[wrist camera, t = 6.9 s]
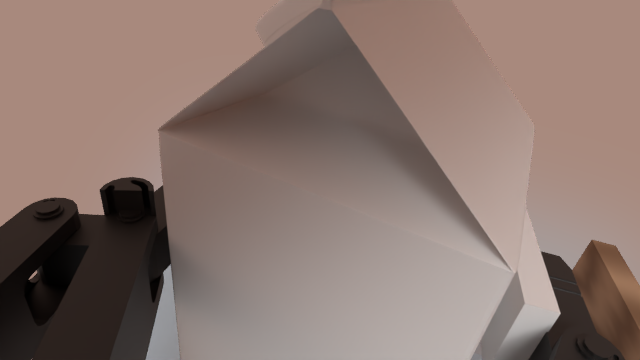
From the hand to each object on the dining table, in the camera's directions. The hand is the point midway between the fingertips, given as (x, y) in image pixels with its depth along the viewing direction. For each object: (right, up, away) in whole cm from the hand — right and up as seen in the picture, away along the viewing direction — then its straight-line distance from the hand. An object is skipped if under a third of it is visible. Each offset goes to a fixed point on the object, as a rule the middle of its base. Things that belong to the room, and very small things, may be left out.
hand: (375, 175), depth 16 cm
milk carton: (-3, -12, +2) cm, 12 cm away
